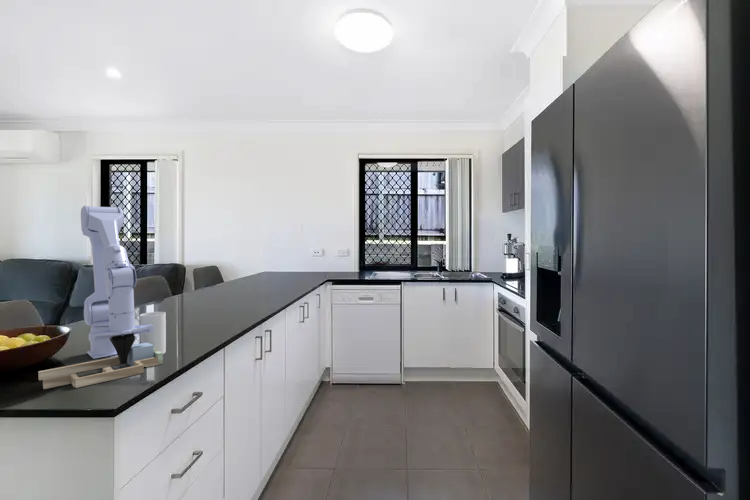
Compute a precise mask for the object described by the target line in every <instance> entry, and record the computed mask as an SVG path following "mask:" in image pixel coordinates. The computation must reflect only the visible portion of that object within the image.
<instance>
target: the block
mask: <svg viewBox="0 0 750 500" xmlns="http://www.w3.org/2000/svg"><path fill="white" fill-rule="evenodd" d="M152 357H154V345H152V344H150V343H148V342H147V343H137V344H133V345H132V347H131V349H130V352H129V355H128V363H127V365H129V367H132V366H134V361H137V360H142V359H147V358H152Z"/></svg>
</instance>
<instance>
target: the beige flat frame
mask: <svg viewBox="0 0 750 500" xmlns="http://www.w3.org/2000/svg"><path fill="white" fill-rule="evenodd" d="M163 355H164V354H163V353H162V352H160V351H158V350H156V349H155V348H154V357H152V358H147V359H142V360H137V361H134V366H127V367H123V368H118V369H113V368H112V367H113V366H118V365H121V364H120V361H119V357H118V355H117V356H114V357H107V358H101V359H97V360H96V359H95V360H90V361H87V362H86V361H85V362H81V363H75V364H72V365H71V364H70V365H66V366H59V367H54V368H49V369H45V370H39V371H38V372H37V373H38V381H42V388H43V390H47V389H48V390H49V389H51V388H57V387H61V386H66V385H69V384H70V385H71V386H72V387H73V388H76V389H78V388H82V387H86V386H87V387H88V386H91V385H95V384H100V383H104V382H108V381H110V382H111V381H114V380H118V379H123V378H126V377H127V378H128V377H132V376H136V375H141V374H145V373H144V370H145V368H144V367H146V368H149V367H150V366H151V367H154V366H159V365H162V364H164V356H163ZM127 364H128V359H127ZM98 369H101V370H102V371H101V372H99V373H95V374H90V375H84V376H80V377H79V376H78V375H77V374H79V373H83V372H89V371H94V370H98Z"/></svg>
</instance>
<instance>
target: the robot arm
mask: <svg viewBox="0 0 750 500" xmlns="http://www.w3.org/2000/svg"><path fill="white" fill-rule="evenodd" d="M80 224H81V232H82V236H86V237H87V238H89V241H90V243H91V244H90V245H91V255H92V268H93V270H92V271H93V282H94V283H93V284H94V292H93V293H92V294H90V295H89V296H88V297H86V298H85V300H84V302H83V320H84V323H85V324H86V325H87V326H90V332H89V333H88V341H89V343H90V350H87V351H86V354H88V356H89V357H91V359H95V360H96V359H100V358H105V357H110V356H115V355H117V356H118V357H119V361H120V364H119V365H126V364H127V365H128V363H127V359H128V355H129V352H130V349H131V347H132V345H134V343H135V341H136V336H135V335H139V334H140V335H141V333H147V332H149V333H150V332H153V325H151V324H149V325H140V324H139V325H135V297H134V296H135V295H134V294H135V293H134V292H135V291H134V288H136V286H137V272H136V268H135V267H134V266H133V264H132V263H130V261H129V257H128V256H129V255H128V253H127V249H126V248H125V247H124V246H122V245H120V243H121V242H120V238H119V233H120V231H121V229H122V226H123V224H124V211H123V209H122V208H121V207H120V206H117V207H115V206H91V205H90V206H87V205H83V206H82V207H81V209H80Z"/></svg>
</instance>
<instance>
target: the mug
mask: <svg viewBox="0 0 750 500" xmlns="http://www.w3.org/2000/svg"><path fill="white" fill-rule="evenodd" d="M166 315H167V314H166V311H150V312H145V313H144V312H143V313H141V314H139V326H140V325H149V324H151V325H153V332H150V333H149V332H147V333H141V334H140V342H141V343H147V342H148V343H150V344H152V345H154V348H155V349H156V350H158V351H160V352H162V353H163V355H165V353H166V352H167V351H166V350H167V349H166V348H167V345H166V344H167V339H166V338H167V320H166V319H167V318H166V317H167V316H166ZM141 343H140V344H141Z"/></svg>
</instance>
